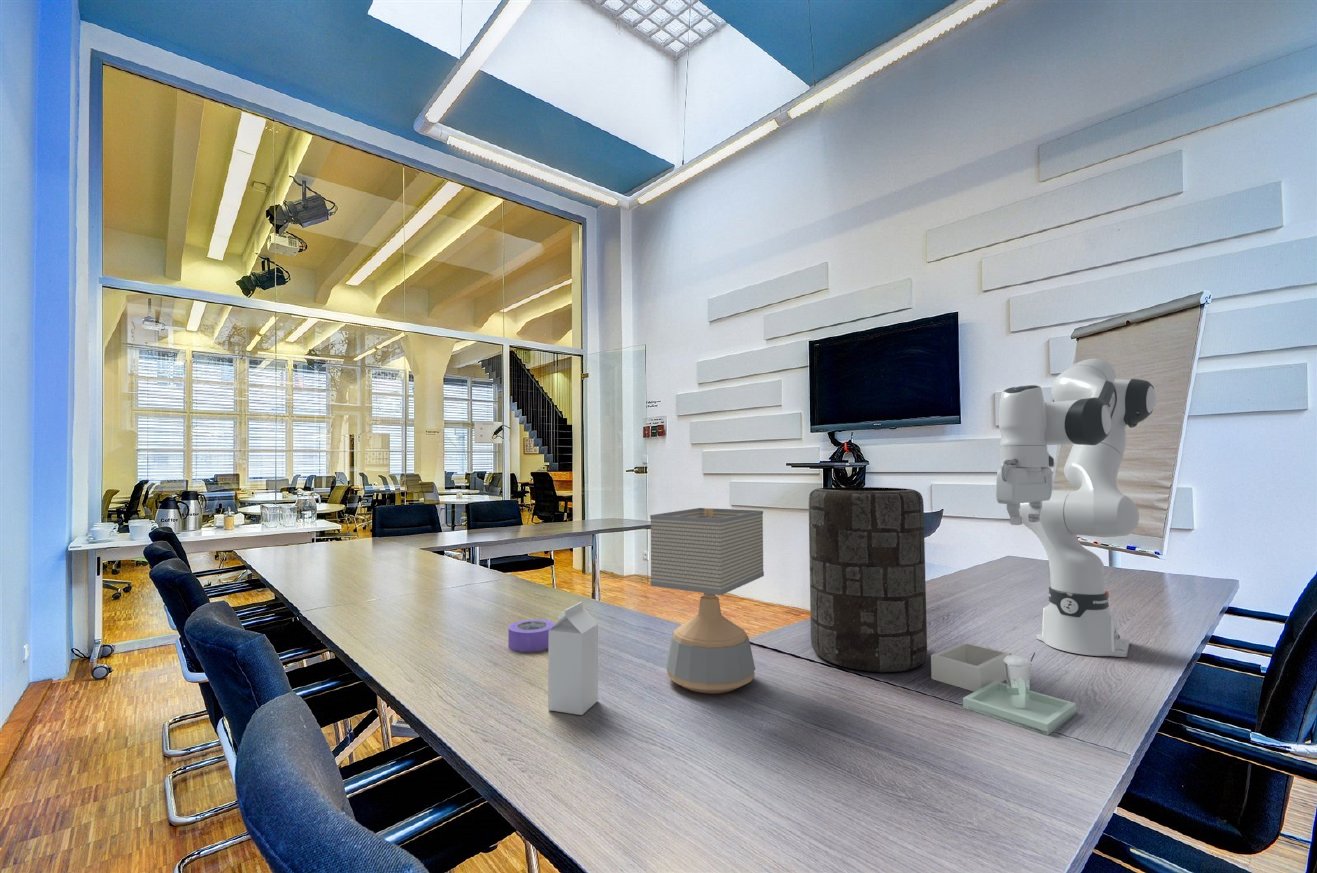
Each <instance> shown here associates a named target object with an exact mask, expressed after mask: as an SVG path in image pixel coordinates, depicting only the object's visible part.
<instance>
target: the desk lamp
mask: <svg viewBox="0 0 1317 873" xmlns="http://www.w3.org/2000/svg"><path fill="white" fill-rule="evenodd" d="M763 515H764V510H759V509H758V510H754V509H735V508H733V509H731V508H713V507H712V508H711V507H698V508H690V509H683V510H675V511H667V512H663V513H656V514H650V515H649V517H650V518H649V519H650V582H649V583H650V587H658V588H662V589H672V590H678V591H687V592H695V593H700V594H701V593H702V594H703V595H702V596H700V597H699V598H700V599H699V604H698V611H697V615H695V616H693V617H692V618H690V619H689V620H688V621H686V622H684V623H683V624H681V625H679V626H678V627H676V628H675V629H674V630H673V633H672V634H671V637H670V642H669V646H668V652H667V657H666V662H665V666H666V676H667V677H668V678H669V679H670V680H672V681H673V682H674V683H675V684H677V685H678V686H681V687H683V688H685V689H687V690H690V691H692V692H696V693H701V694H707V695H708V694H724V693H728V692H732V691H735V690H737V689H738V688H741V687H743V686H745V685H747V684H749V683H751V682H752V680H754V677H755V672H756V671H755V670H756V666H755V661H754V657H753V656H754V655H753V652H752V646H751V642H750V638H749V635H748V634H747V633H746V631H745V629H744V628H741V627H740V626H739V625H737V624H736V623H734V622H732V621H731V620H730V619H728V618H726V617H725V616H724V615H722V609H721V604H720V603H721V602H720V598H719V596H723V595H725V594H727V593H729V592H732V591H733V590H736V589H738V588H741V587H742V586H745V585H747V584H750V583H752V582H754V581H756V580H758V579H760V578H762V577H764V576H765V574H764V573H765V572H764V524H763V523H764V518H763V517H764V516H763ZM717 595H718V596H717Z"/></svg>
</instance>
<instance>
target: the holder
mask: <svg viewBox="0 0 1317 873" xmlns="http://www.w3.org/2000/svg"><path fill="white" fill-rule="evenodd" d="M1008 655H1012V652H1008V651H1003V650H999V649H997V648H996V649H995V648H991V647H988V646H987V647H986V646H983V645H979V644H975V643H971V642H966V641H963V642H960V643H957V644H955V645H952V646H950V647H948V648H945V649H943V650H941V651H938V652H936V653H935V652H934V653H933V654H931V655H930V668H931V669H930V672H931V679H932V680H933V681H937V682H941V683H944V684H947V685H950V686H953V687H958V688H961V689H964V690H968V691H971V692H972V693H973V692H975V691H977V690H979V689H981V688H983V687H985V686H987V685H988V684H990V683H992V682H994V681H998V682H1001V683H1004V682H1005V681H1006V675H1005V669H1004V662H1003V659H1004V658H1005V657H1006V656H1008Z"/></svg>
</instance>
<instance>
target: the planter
mask: <svg viewBox="0 0 1317 873" xmlns="http://www.w3.org/2000/svg"><path fill="white" fill-rule="evenodd" d="M924 508H925V507H924V498H923V495H922V494H921V492H920V491H918V490H915V489H911V488H903V487H901V488H900V487H877V486H876V487H873V486H855V487H854V486H845V487H843V486H841V487H840V486H837V487H834V486H833V487H820V488H816V489H815V488H814V489H813V490H812V491H811V492H810V493H809V495H808V535H809V536H808V537H809V538H808V542H809V543H808V546H809V602H810V603H809V607H810V610H809V611H810V612H809V614H810V642H811V647H812V649H813V651H814V652H815V654H817V656H819V657H820V658H821V659H822V660H825V661H827V662H829V663H831V664H834V665H836V666H840V667H844V668H847V669H852V670H855V671H856V670H857V671H862V672H872V673H874V672H875V673H897V672H904V671H909V670H913V669H915V668H918V667H920V666H921V665H922V664H923V663H925V661H926V659H927V655H928V654H927V653H928V631H927V629H928V628H927V591H926V590H927V589H926V587H927V586H926V583H927V582H926V550H925V549H926V545H925V543H926V542H925V512H924V511H925V509H924Z"/></svg>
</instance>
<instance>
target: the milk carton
mask: <svg viewBox="0 0 1317 873" xmlns="http://www.w3.org/2000/svg"><path fill="white" fill-rule="evenodd" d="M557 619H558V621H557V622H556V623H555V625H554V626H553V627H552V628H551V629H549V641H548V649H547V650H548V657H547V658H548V660H547V661H548V665H547V666H548V669H547V671H548V676H547V677H548V678H547V679H548V680H547V685H548V686H547V687H548V689H547V691H548V692H547V710H548V711H551V712H553V711H554V712H558V713H563V714H564V713H565V714H571V715H578V716H583V715H584V714H585V713H587V711H589V709H590V708H591V707H593V706H594V705H596V703H597V702H598V701H599V623H598V622H597V621H596V620H595V618H593V616H591V615H590V614H589V612H588V611H587V610H586V609H585V608H584V607H583V601H580V602H578V603H576V604H574V605H572V606H569V607H568V608H566V609H565V610H564V611H562V612H561V613H559V615H557Z"/></svg>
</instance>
